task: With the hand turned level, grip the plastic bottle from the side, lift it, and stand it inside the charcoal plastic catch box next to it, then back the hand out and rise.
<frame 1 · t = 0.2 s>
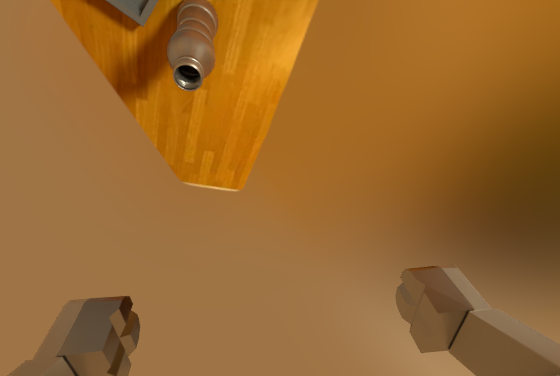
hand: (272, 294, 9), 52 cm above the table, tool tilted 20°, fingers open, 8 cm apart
plastic bottle: (199, 13, 50), on the table
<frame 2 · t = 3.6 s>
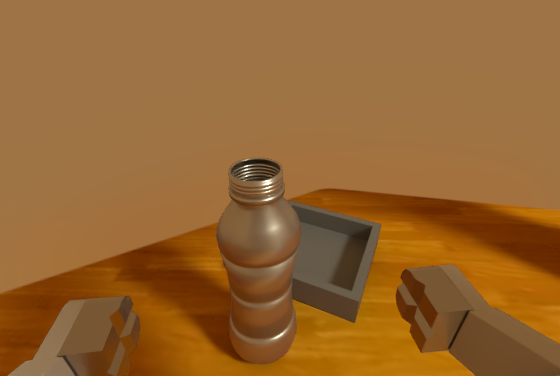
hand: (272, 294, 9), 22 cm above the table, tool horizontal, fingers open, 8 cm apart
plastic bottle: (263, 341, 31), on the table
catch box: (315, 260, 40), on the table
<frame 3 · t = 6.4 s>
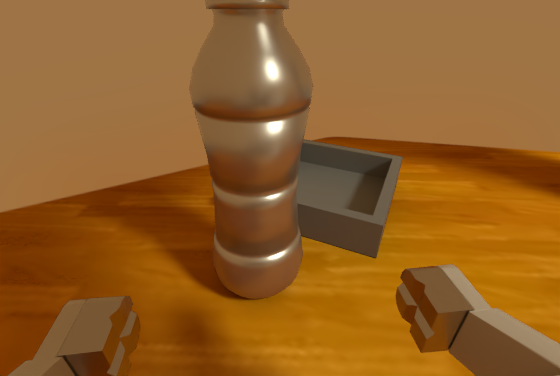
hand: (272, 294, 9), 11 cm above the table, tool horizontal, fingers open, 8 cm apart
plastic bottle: (259, 278, 24), on the table
catch box: (323, 198, 33), on the table
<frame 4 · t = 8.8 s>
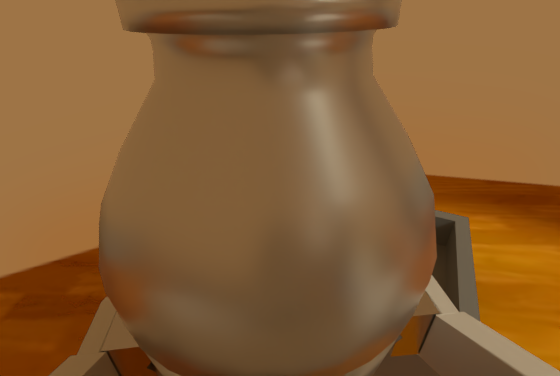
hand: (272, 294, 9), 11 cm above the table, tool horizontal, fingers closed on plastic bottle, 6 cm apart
catch box: (359, 278, 24), on the table
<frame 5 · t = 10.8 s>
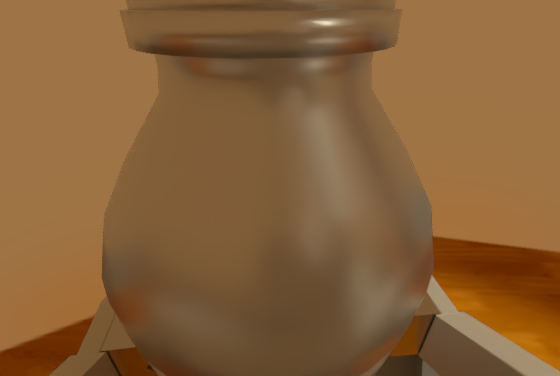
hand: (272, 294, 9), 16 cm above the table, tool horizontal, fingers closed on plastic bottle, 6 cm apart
when the fingers open (13 cm above the table, at t = 12.8 s): plastic bottle drops 1 cm, resting on catch box.
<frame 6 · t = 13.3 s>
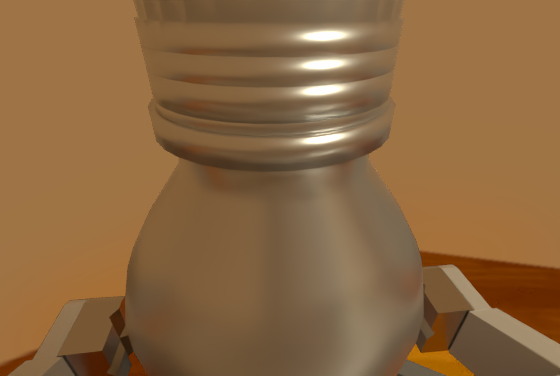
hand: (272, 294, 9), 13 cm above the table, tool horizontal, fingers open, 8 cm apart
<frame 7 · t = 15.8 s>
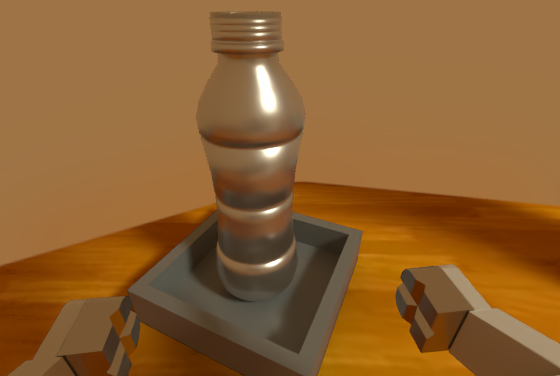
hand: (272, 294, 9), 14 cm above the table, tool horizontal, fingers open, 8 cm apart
plastic bottle: (258, 282, 26), point 1 cm above the table, touching catch box
catch box: (260, 286, 26), on the table
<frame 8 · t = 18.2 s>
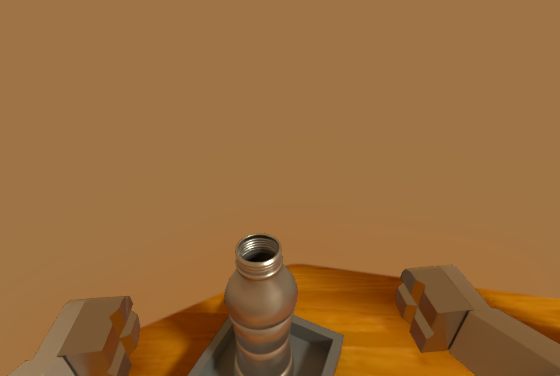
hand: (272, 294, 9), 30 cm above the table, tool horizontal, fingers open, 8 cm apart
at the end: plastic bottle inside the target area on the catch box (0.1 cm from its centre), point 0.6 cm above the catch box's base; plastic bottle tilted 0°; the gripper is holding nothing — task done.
